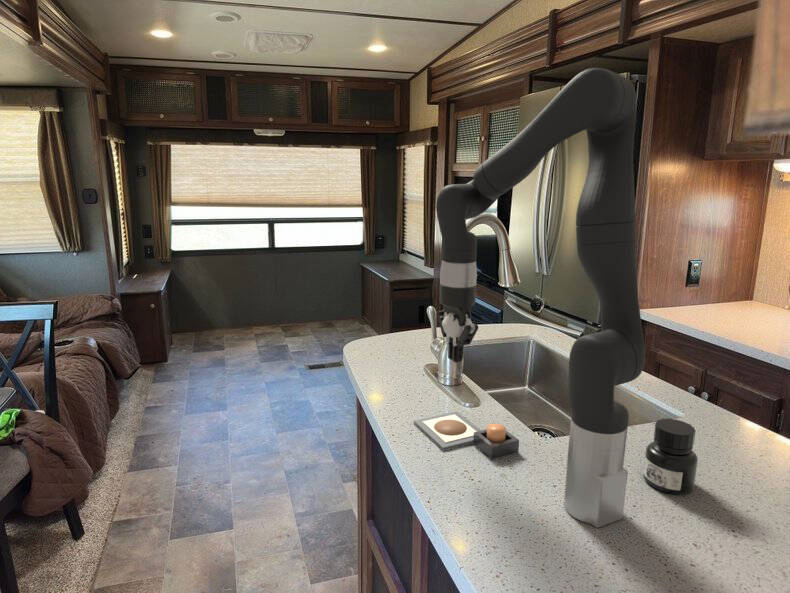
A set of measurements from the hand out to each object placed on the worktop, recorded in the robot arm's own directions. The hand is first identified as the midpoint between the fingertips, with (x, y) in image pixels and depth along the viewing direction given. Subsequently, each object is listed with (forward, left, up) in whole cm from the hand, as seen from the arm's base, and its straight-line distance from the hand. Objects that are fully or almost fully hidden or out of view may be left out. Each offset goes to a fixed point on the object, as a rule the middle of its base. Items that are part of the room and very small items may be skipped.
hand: (455, 359), depth 115 cm
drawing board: (+5, -2, -20) cm, 20 cm away
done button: (-6, -7, -18) cm, 20 cm away
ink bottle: (-31, -30, -20) cm, 48 cm away
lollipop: (0, 0, -4) cm, 4 cm away
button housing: (-6, -7, -20) cm, 22 cm away
